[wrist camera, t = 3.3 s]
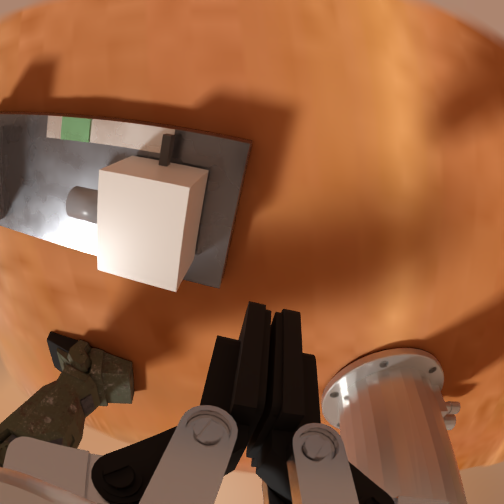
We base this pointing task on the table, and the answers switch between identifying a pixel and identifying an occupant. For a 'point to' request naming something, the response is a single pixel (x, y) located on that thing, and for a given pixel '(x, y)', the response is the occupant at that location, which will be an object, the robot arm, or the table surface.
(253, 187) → the table surface
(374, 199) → the table surface
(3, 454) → the mechanical leg
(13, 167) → the gauge base
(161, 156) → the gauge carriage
